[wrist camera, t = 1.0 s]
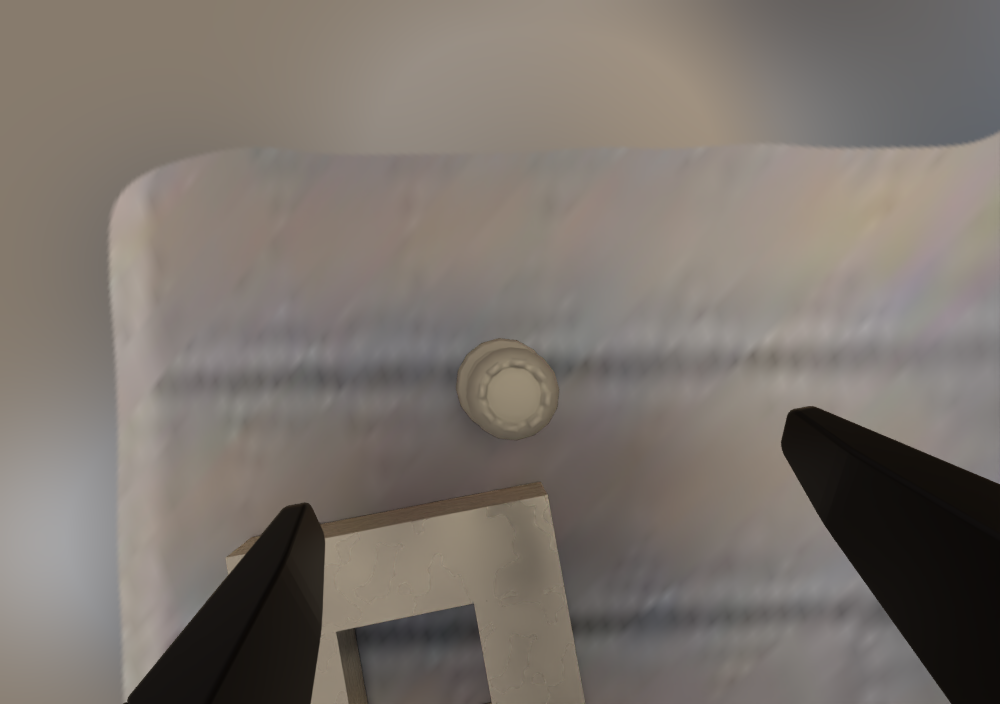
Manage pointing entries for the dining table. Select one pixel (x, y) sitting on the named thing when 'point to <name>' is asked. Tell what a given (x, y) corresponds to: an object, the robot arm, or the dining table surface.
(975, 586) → the robot arm
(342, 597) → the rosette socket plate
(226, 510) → the dining table surface
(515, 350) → the rook chess piece
